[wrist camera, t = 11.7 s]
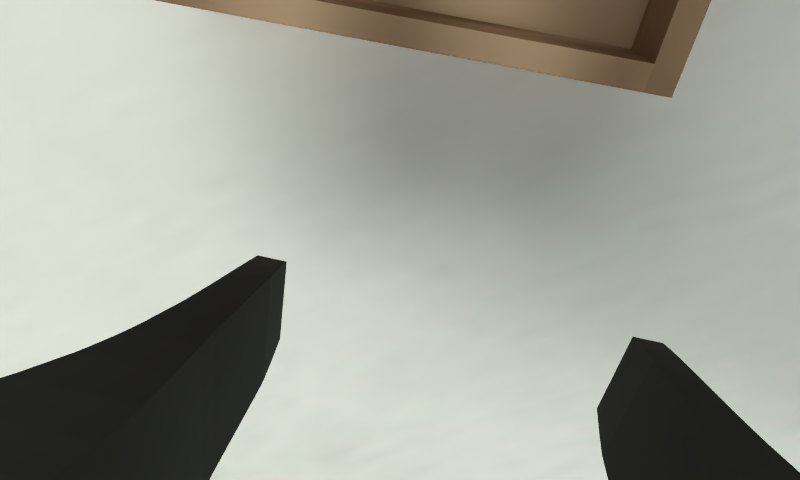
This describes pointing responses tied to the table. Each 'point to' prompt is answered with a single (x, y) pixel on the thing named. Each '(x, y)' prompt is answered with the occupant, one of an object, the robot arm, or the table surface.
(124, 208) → the table surface
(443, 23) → the walnut bin
